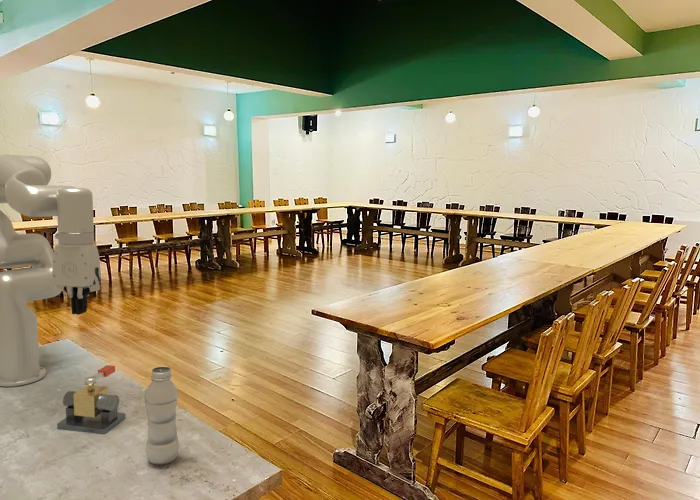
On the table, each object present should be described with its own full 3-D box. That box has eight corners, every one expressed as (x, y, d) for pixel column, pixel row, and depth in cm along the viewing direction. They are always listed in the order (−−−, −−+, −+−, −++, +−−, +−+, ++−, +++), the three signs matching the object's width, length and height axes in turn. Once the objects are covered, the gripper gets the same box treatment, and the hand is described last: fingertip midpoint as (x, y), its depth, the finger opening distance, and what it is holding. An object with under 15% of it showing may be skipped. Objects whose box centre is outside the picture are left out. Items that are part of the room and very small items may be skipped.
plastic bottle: (168, 471, 98) (167, 377, 96) (138, 466, 100) (136, 373, 97) (185, 454, 105) (184, 365, 102) (157, 449, 106) (155, 362, 103)
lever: (92, 386, 113) (91, 380, 113) (82, 385, 114) (82, 379, 113) (115, 371, 122) (115, 365, 122) (106, 370, 122) (106, 365, 122)
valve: (57, 428, 113) (55, 388, 112) (80, 412, 121) (79, 375, 119) (104, 434, 111) (103, 393, 110) (125, 417, 119) (124, 379, 118)
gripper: (36, 239, 114) (40, 314, 117) (95, 242, 112) (97, 319, 115) (59, 235, 121) (62, 307, 124) (114, 239, 119) (116, 311, 122)
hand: (79, 312), depth 119 cm, fingers closed
